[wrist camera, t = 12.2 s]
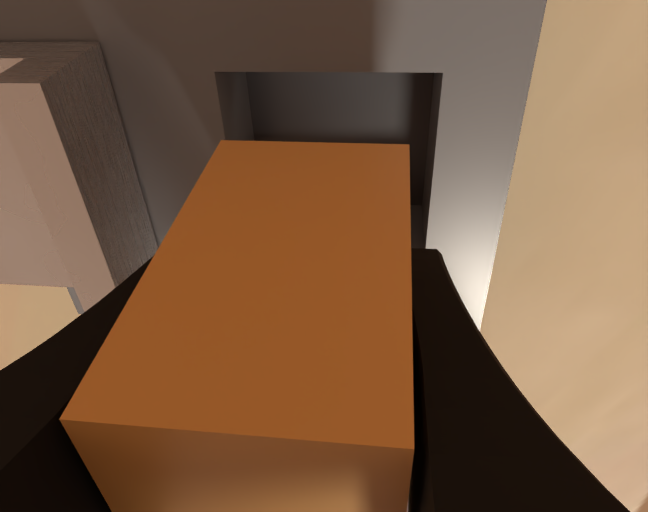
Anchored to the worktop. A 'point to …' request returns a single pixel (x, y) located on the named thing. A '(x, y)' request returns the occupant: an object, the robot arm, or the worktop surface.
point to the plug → (264, 343)
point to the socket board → (319, 95)
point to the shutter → (66, 173)
